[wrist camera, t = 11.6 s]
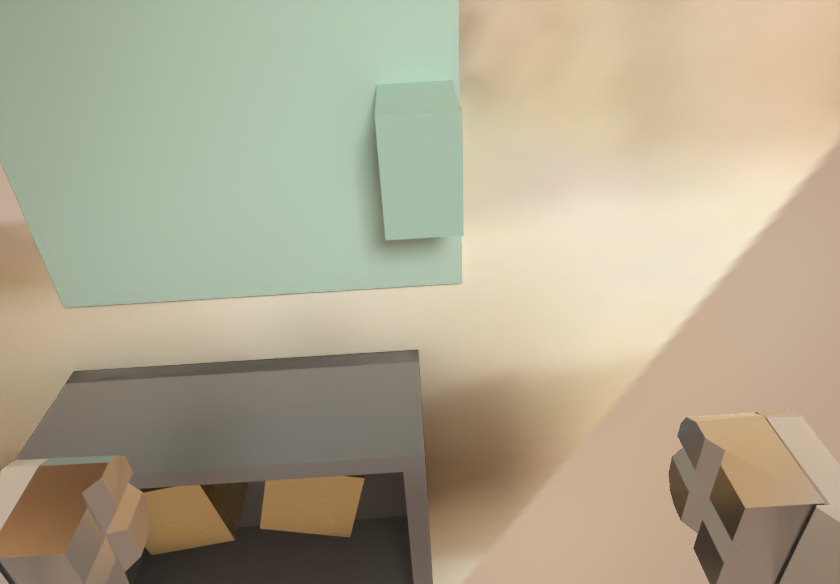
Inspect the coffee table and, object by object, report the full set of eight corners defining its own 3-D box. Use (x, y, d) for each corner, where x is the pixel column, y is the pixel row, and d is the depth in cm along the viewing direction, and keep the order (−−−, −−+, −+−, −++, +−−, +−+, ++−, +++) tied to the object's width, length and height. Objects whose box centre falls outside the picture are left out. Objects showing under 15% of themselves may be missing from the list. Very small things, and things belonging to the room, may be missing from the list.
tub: (73, 371, 27) (0, 482, 22) (418, 350, 27) (424, 455, 22) (146, 530, 33) (103, 645, 28) (428, 511, 33) (435, 623, 28)
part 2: (278, 414, 28) (267, 467, 25) (366, 425, 28) (364, 478, 26) (270, 474, 30) (259, 528, 27) (353, 483, 30) (350, 537, 28)
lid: (-65, -30, 19) (-172, -12, 15) (455, -60, 19) (470, -49, 16) (72, 296, 26) (19, 363, 22) (460, 272, 26) (471, 335, 22)
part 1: (132, 445, 28) (107, 499, 26) (215, 429, 28) (198, 482, 26) (171, 500, 31) (151, 555, 28) (248, 485, 30) (235, 540, 28)
